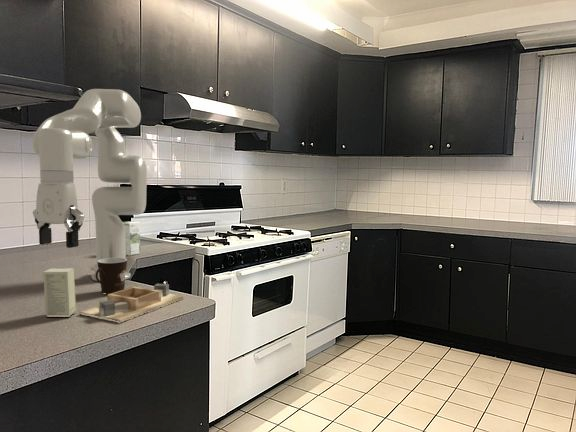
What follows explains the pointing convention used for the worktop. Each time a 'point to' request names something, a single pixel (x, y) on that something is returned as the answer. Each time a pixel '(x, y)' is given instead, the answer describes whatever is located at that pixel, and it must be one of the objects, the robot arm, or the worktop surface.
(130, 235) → the syrup box
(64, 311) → the skincare box
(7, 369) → the worktop surface
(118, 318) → the board
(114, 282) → the coffee mug
